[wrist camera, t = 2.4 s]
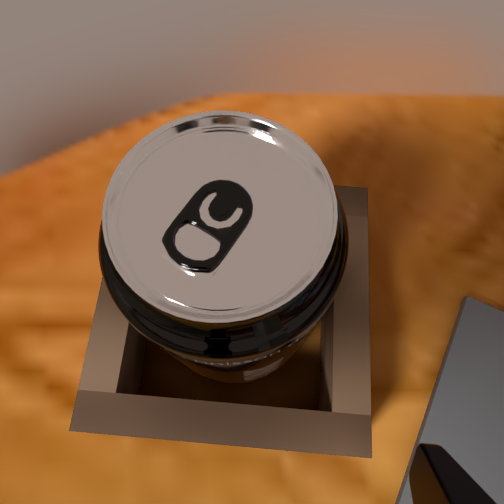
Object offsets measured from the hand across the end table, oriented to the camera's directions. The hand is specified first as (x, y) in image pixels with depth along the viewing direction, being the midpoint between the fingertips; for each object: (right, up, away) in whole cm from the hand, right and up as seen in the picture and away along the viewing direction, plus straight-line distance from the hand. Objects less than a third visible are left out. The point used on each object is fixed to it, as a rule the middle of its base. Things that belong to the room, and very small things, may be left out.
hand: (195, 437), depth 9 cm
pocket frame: (0, +1, +12) cm, 13 cm away
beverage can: (0, +1, +13) cm, 13 cm away
